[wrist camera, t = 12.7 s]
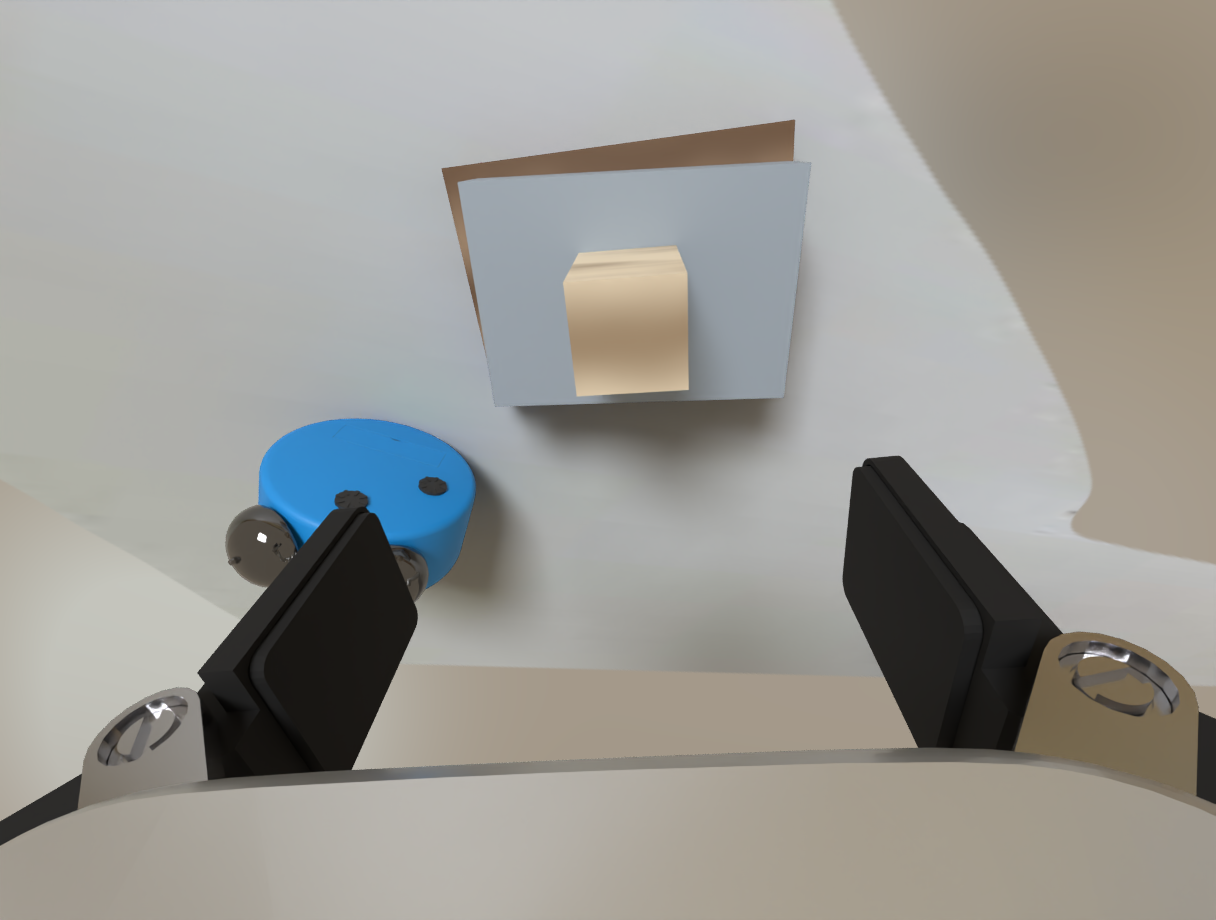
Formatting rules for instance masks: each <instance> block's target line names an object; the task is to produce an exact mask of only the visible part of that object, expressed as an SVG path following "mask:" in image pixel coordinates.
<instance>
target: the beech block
mask: <svg viewBox="0 0 1216 920" xmlns="http://www.w3.org/2000/svg"><path fill="white" fill-rule="evenodd" d="M563 287H564V295H565V303H566V312H567V320H568V328H569V337H570V345H571V353H572V361H573V370H574V378H575V386H576V395H577V396H594V395H611V394H627V393H644V392H661V391H678V390H689V375H688V275H687V271H686V268H685V266H684V263H683V261H682V258H681V256H680V253H679V251H678V248H677V246H676V245H671V246H658V247H646V248H634V249H621V250H609V251H596V252H584V253H578V255H577V257H576V259H575V261H574V263H573V265H572V266H571V268H570V270H569V272H568V274H567V276H566V278H565V280H564V282H563Z"/></svg>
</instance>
